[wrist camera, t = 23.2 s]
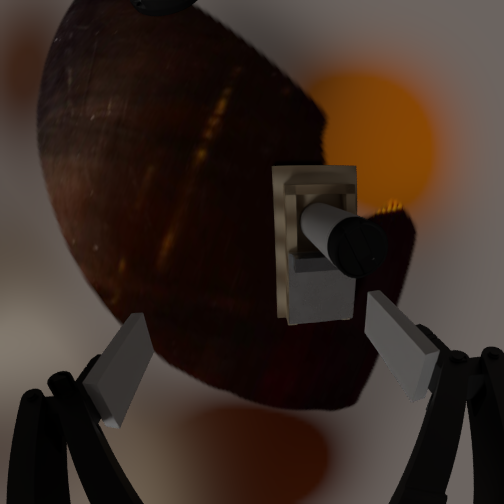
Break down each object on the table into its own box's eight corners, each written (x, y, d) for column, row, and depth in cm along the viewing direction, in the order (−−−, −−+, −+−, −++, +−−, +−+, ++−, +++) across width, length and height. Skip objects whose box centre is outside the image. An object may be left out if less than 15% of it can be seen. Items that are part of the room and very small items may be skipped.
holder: (271, 166, 45) (274, 165, 41) (354, 165, 45) (363, 165, 41) (277, 315, 51) (279, 326, 48) (350, 308, 51) (357, 318, 48)
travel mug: (323, 193, 45) (376, 205, 26) (341, 227, 46) (399, 261, 27) (290, 212, 46) (322, 238, 26) (310, 246, 47) (351, 293, 28)
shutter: (288, 252, 44) (291, 259, 40) (355, 248, 44) (364, 254, 40) (288, 322, 47) (292, 333, 43) (350, 315, 47) (358, 326, 43)
